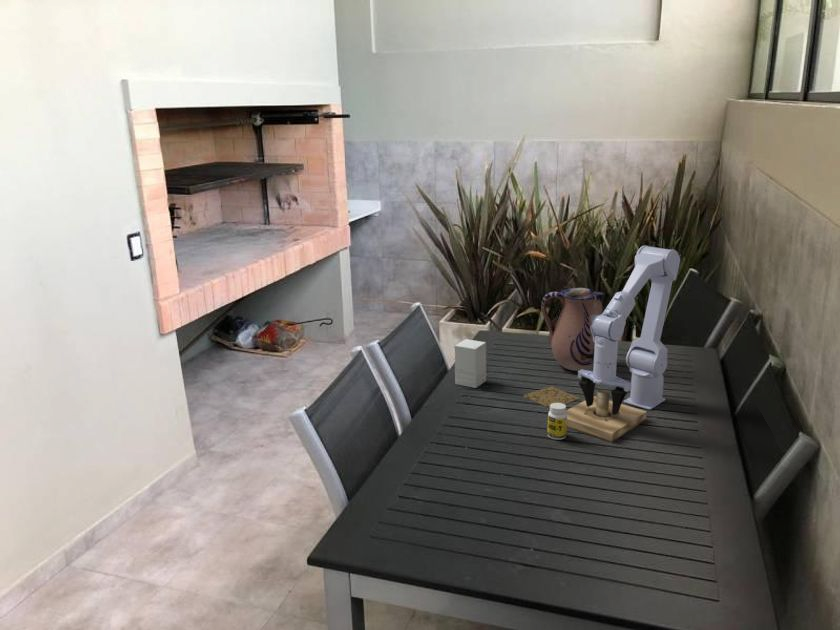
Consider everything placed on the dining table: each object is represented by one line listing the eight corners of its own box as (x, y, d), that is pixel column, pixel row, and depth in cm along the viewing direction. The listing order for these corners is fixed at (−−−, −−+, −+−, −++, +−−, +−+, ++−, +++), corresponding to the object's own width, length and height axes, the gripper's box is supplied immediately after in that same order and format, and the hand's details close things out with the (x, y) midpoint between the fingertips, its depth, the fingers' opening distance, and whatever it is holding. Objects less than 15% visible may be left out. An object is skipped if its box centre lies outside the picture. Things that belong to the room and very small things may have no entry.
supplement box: (486, 380, 211) (487, 342, 208) (475, 388, 205) (475, 348, 202) (465, 376, 215) (465, 338, 212) (454, 384, 209) (453, 345, 206)
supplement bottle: (544, 438, 173) (545, 407, 171) (550, 430, 177) (551, 400, 175) (563, 441, 171) (564, 410, 169) (568, 434, 175) (570, 403, 173)
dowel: (600, 416, 184) (601, 388, 182) (610, 420, 181) (612, 392, 179) (593, 420, 182) (594, 392, 180) (603, 423, 180) (604, 395, 177)
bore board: (593, 403, 193) (593, 395, 193) (646, 419, 182) (646, 411, 182) (556, 423, 181) (557, 415, 180) (611, 442, 170) (611, 433, 170)
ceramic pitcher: (612, 376, 213) (617, 298, 206) (544, 377, 213) (547, 300, 206) (599, 357, 229) (603, 285, 222) (536, 358, 230) (538, 286, 223)
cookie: (582, 400, 197) (582, 397, 197) (552, 410, 190) (552, 407, 190) (551, 387, 206) (552, 384, 206) (522, 397, 200) (522, 394, 199)
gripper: (572, 358, 179) (570, 406, 183) (623, 371, 169) (619, 422, 173) (587, 351, 184) (584, 398, 188) (637, 364, 174) (633, 413, 178)
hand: (602, 409), depth 181 cm, fingers open, 7 cm apart
